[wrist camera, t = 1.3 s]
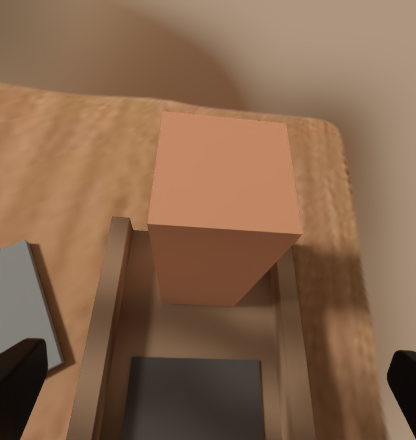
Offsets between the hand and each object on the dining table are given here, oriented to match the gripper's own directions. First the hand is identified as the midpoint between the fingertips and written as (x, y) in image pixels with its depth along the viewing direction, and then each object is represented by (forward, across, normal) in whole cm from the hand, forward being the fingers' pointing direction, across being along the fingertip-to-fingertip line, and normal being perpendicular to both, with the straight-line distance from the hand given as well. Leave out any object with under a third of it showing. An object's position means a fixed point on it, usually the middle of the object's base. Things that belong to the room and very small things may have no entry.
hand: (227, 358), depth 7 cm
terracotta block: (+13, 0, +4) cm, 14 cm away
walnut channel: (+10, 0, +8) cm, 13 cm away
